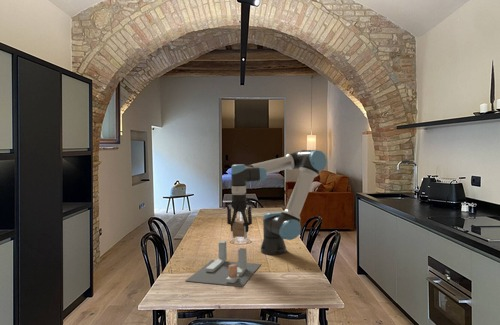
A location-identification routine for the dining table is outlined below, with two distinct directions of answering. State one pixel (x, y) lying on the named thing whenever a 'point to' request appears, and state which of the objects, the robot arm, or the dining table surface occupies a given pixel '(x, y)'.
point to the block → (238, 229)
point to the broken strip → (239, 265)
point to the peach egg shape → (232, 270)
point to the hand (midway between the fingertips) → (239, 237)
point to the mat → (222, 274)
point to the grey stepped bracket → (221, 258)
